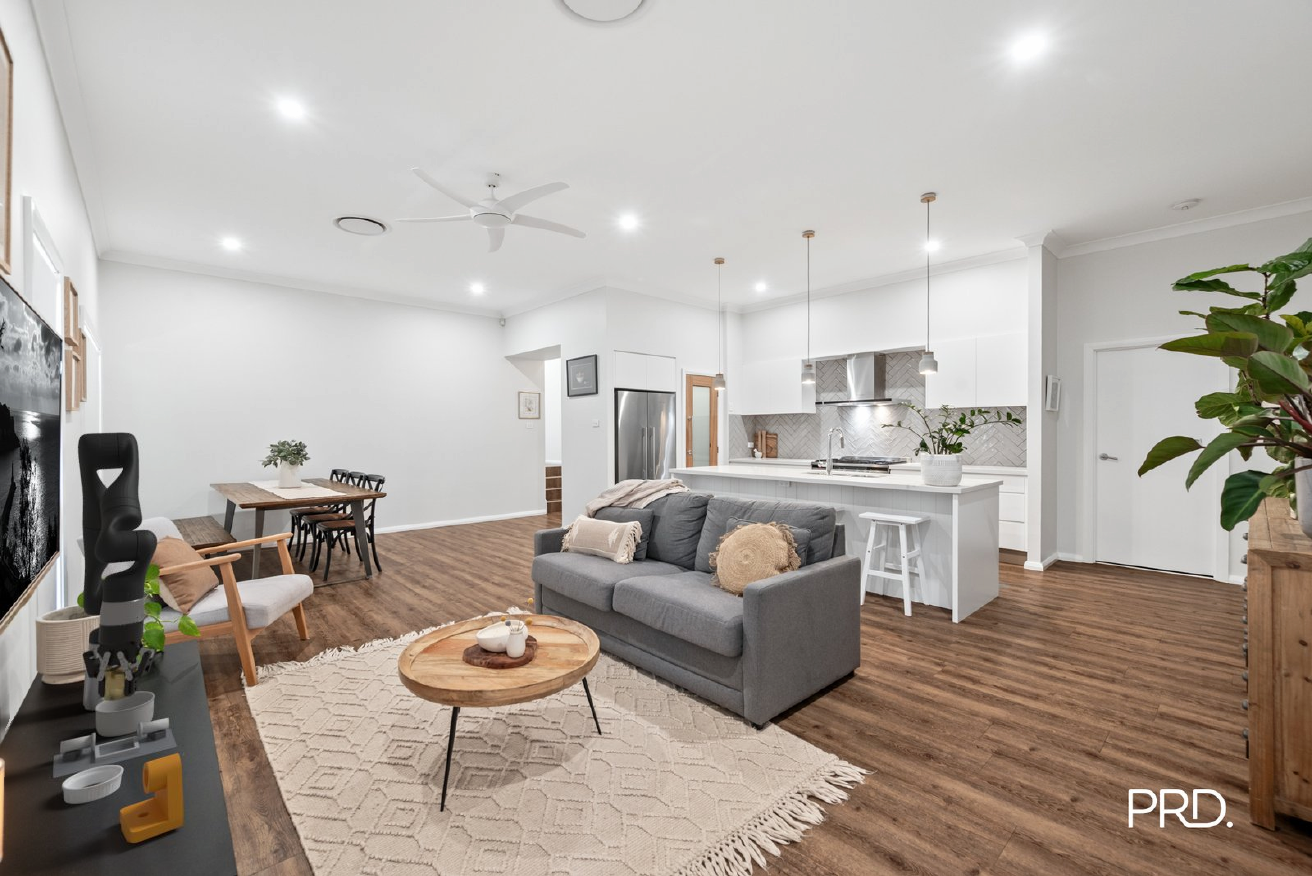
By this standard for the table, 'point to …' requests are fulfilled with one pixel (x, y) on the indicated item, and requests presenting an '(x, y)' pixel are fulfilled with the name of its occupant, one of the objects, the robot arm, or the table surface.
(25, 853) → the table surface
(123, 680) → the gold knob
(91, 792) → the ramekin
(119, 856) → the table surface
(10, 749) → the table surface
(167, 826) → the bracket
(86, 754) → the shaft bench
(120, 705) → the teacup
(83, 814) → the table surface
